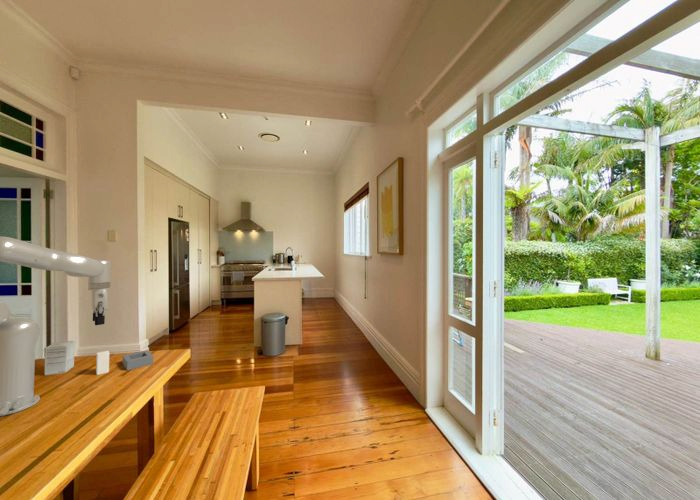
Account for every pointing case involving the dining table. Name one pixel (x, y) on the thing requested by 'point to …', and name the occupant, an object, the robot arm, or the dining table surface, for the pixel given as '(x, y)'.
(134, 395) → the dining table surface
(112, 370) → the dining table surface
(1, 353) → the robot arm
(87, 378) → the dining table surface
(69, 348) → the supplement box
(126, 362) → the socket board
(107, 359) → the peg
